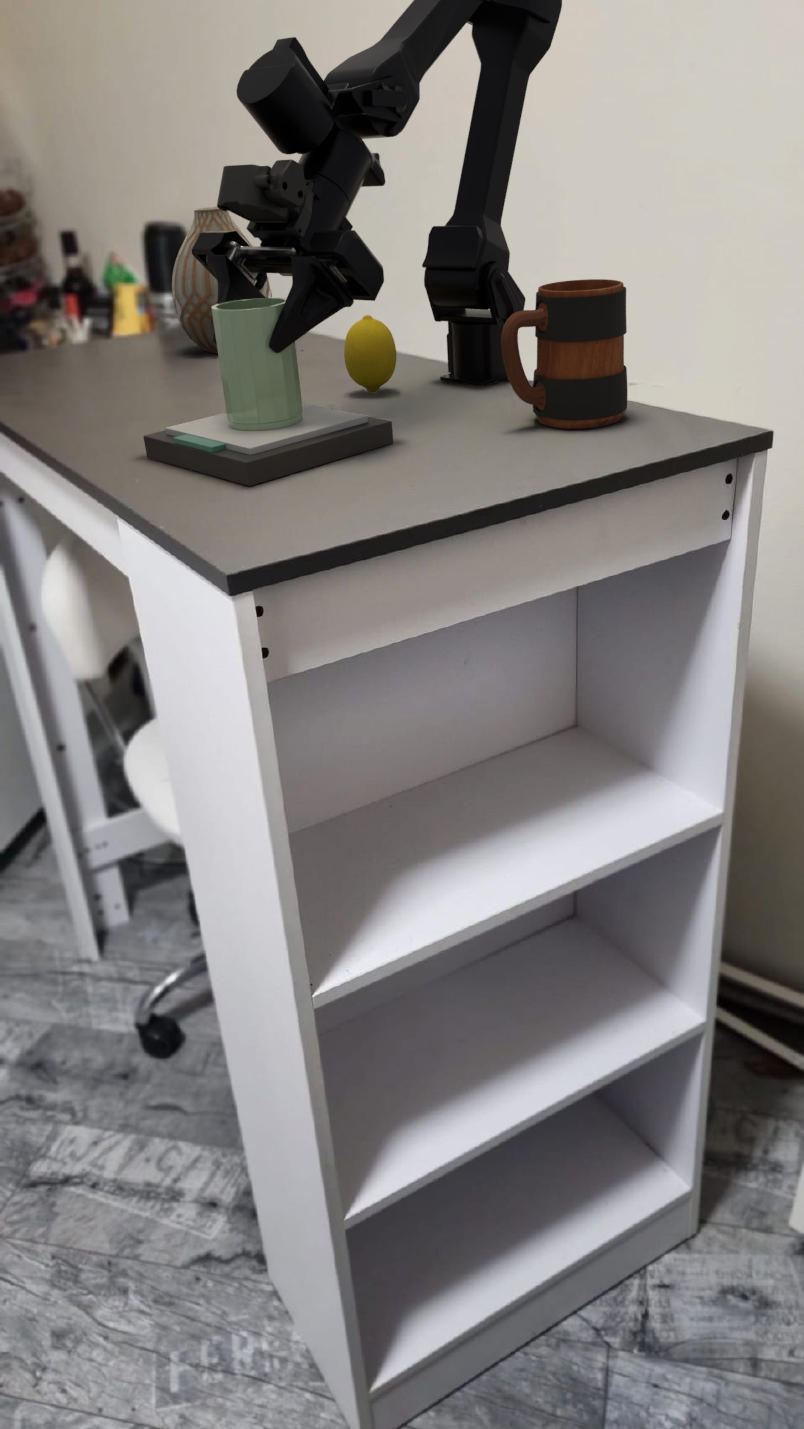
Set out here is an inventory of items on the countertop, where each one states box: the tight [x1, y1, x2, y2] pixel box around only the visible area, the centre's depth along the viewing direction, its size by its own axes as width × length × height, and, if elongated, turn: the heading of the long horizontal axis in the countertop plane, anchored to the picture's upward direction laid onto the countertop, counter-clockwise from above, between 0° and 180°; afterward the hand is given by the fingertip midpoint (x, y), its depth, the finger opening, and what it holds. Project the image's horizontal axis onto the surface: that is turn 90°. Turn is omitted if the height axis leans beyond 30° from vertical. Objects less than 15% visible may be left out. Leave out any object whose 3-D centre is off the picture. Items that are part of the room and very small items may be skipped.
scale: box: [142, 402, 394, 487], centre depth 99 cm, size 16×16×3 cm
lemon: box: [343, 314, 397, 394], centre depth 116 cm, size 6×6×8 cm
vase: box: [171, 206, 273, 354], centre depth 145 cm, size 13×13×18 cm
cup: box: [211, 296, 303, 431], centre depth 96 cm, size 7×7×10 cm
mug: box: [501, 278, 628, 430], centre depth 99 cm, size 9×12×12 cm
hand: (244, 347), depth 94 cm, fingers closed on cup, 7 cm apart
